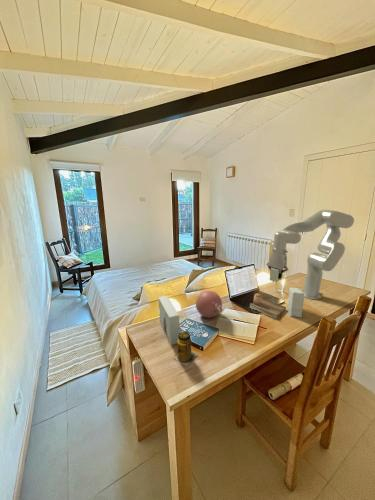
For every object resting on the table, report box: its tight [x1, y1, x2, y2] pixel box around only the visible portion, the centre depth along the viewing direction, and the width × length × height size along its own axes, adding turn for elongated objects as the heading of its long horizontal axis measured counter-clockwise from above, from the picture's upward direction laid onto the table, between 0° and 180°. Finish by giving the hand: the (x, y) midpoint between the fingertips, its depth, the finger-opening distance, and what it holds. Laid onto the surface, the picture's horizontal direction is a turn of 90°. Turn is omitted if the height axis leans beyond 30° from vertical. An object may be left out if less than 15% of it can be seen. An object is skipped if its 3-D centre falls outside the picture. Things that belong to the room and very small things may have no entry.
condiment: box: [173, 331, 198, 367], centre depth 93 cm, size 7×8×12 cm
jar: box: [252, 292, 263, 306], centre depth 135 cm, size 5×5×7 cm
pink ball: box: [195, 290, 223, 319], centre depth 123 cm, size 15×20×15 cm
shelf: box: [249, 297, 287, 320], centre depth 134 cm, size 15×17×3 cm
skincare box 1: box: [158, 294, 181, 346], centre depth 110 cm, size 21×6×16 cm, turn 22°
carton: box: [269, 268, 282, 283], centre depth 140 cm, size 6×5×8 cm
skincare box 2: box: [286, 287, 305, 318], centre depth 128 cm, size 8×7×16 cm
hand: (275, 277), depth 140 cm, fingers closed on carton, 4 cm apart
